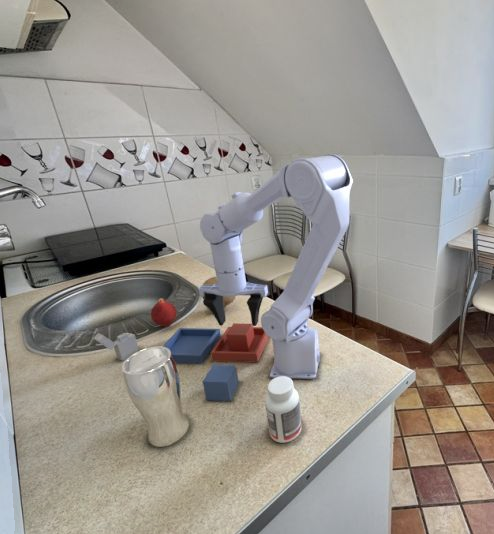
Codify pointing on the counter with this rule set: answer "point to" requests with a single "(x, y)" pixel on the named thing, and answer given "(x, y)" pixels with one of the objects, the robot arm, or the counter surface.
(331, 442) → the counter surface
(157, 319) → the onion
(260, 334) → the red tray
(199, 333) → the blue tray
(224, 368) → the blue block
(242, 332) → the red block
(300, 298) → the robot arm
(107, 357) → the counter surface
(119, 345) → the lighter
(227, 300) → the potato
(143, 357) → the beer glass
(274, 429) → the pill bottle
